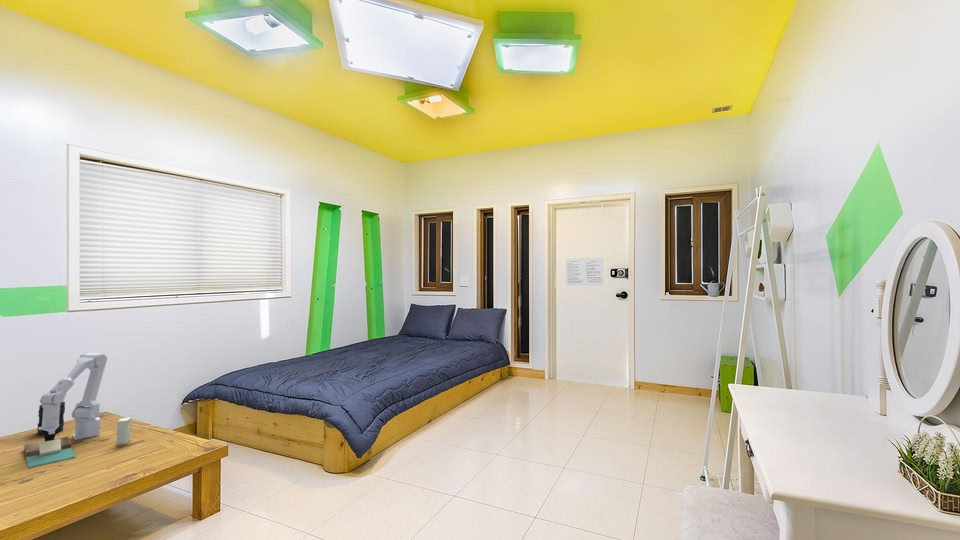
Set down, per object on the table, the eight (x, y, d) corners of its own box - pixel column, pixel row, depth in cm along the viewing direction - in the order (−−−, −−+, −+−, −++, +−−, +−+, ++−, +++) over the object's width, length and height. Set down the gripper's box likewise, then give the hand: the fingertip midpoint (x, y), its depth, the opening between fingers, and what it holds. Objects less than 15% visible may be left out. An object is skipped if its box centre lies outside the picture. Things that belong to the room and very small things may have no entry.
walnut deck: (67, 441, 209) (68, 436, 209) (71, 448, 202) (71, 443, 202) (24, 449, 197) (24, 444, 198) (26, 457, 190) (26, 452, 190)
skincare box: (126, 444, 210) (128, 420, 210) (115, 445, 208) (117, 421, 208) (130, 439, 216) (132, 416, 216) (119, 440, 214) (121, 417, 214)
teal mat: (71, 448, 201) (71, 447, 201) (75, 457, 193) (75, 456, 193) (26, 458, 190) (26, 456, 190) (28, 468, 181) (28, 466, 181)
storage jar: (53, 427, 224) (55, 400, 225) (68, 429, 223) (70, 402, 223) (31, 434, 215) (33, 406, 215) (46, 436, 213) (49, 408, 213)
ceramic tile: (59, 441, 200) (60, 438, 199) (60, 451, 197) (61, 448, 196) (38, 445, 194) (39, 442, 194) (39, 455, 191) (39, 453, 191)
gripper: (37, 414, 199) (35, 442, 199) (40, 422, 190) (38, 451, 190) (58, 411, 205) (56, 438, 205) (61, 419, 196) (59, 447, 196)
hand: (48, 444), depth 198 cm, fingers closed
